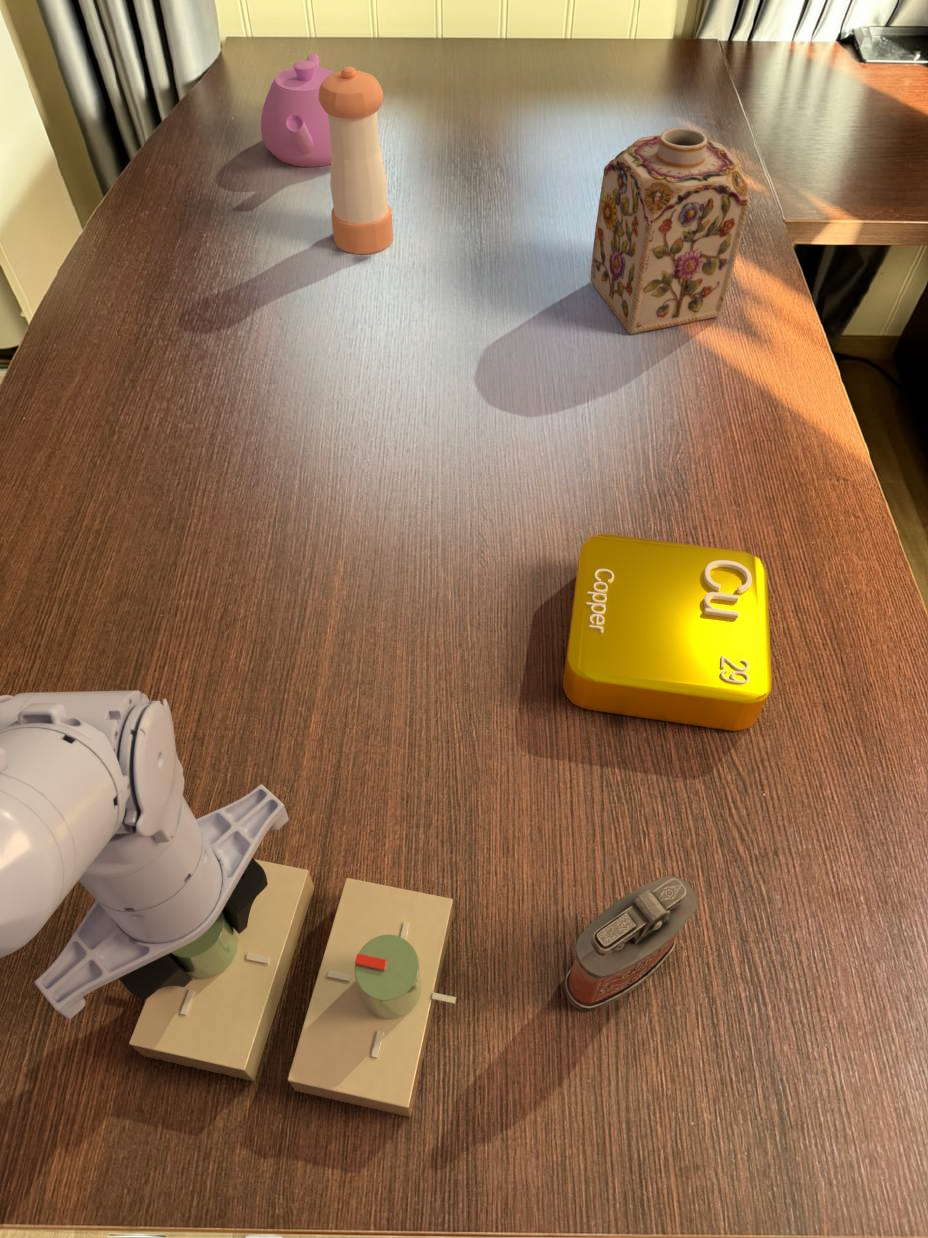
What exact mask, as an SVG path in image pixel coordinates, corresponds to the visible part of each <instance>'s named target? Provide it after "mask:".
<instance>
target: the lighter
mask: <svg viewBox="0 0 928 1238" xmlns="http://www.w3.org/2000/svg"><path fill="white" fill-rule="evenodd" d="M697 908H698V899H697V895H696V893H695V891H694V889H693V888H692V886H691V884H689V883H688V882H686V880H684V879H682V878H680V877H678V876H674V875H667V876H663V877H660V878H658V879H656V880H654V881H651V882H649V883H647V884H644V885H641V886H639V887H638V888H636V889H635V890H633V891H631V892H629V893H627V894H626V895H624V896H622V897H621V898H619V899H618V900H616V901H615V902H614V903H613V904H611V905H610V906H609V907H607V909H605V910H604V911H603V912H602V913H600V914H599V915H598V916H597V917H596V918H595V919H594V920H593V921H592V922H591V923H590V924H589V925H588V926H587V927H586V929H584V930H583V932H581V934H580V935H579V937H578V939H577V940H576V943H575V948H574V955H575V957H574V962H573V964H572V967H571V968H570V969H569V971H568V972H567V974H566V976H565V979H564V984H563V988H564V993H565V995H566V998H567V999H568V1002H569V1003H570V1004H571V1005H572V1006H573V1007H574V1008H576V1009H577V1010H580V1011H582V1012H586V1013H589V1012H594V1011H596V1010H598V1009H601V1008H603V1007H605V1006H607V1005H609V1004H612V1003H613V1002H616V1001H618V1000H620V999H621V998H622V997H624V996H626V995H627V994H630V993H631V992H632V991H634V990H635V989H637V988H638V987H639V986H640V985H642V984H643V983H644V982H645V981H647V980H648V979H649V978H650V977H651V976H653V974H654V973H655V972H657V970H658V969H660V967H661V965H662V964H663V963H665V961H666V960H667V959H668V957H669V956H670V955H671V954H672V952H673V950H674V948H675V946H676V941H677V940H676V939H677V936H678V934H679V933H680V931H681V930H682V929H683V928H684V927H685V926H686V925H687V923H688V922H689V921H690V920H691V919H692V918H693V916H694V914H695V913H696V910H697Z"/></svg>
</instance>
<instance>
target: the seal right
mask: <svg viewBox="0 0 928 1238" xmlns="http://www.w3.org/2000/svg"><path fill="white" fill-rule="evenodd" d="M355 977H356V980H357V983H358V987H359V990H360V993H361V996H362V999H363V1002H364V1004H365V1006H366V1007H367V1008H368V1010H369V1011H370V1012H371V1013H373V1014H374V1015H376V1016H378V1017H380V1018H384V1019H396V1018H399V1017H402V1016H404V1015H406V1014H407V1013H409V1012H410V1011H411V1010H412V1009H413V1008H414V1006H415V1005H416V1004H417V1002H418V1000H419V998H420V994H421V987H422V985H421V975H420V967H419V960H418V956H417V953H416V951H415V949H414V948H413V946H412V945H411V944H410V943H409V942H408V941H407V940H405V939H404V938H402V937H399V936H396V935H381V936H378V937H375V938H373V939H371V940H370V941H368V942H367V943H366V944H365V945H364V946H363V947H362V949H361V950H360V952H359V954H357V957H356V960H355Z"/></svg>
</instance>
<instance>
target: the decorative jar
mask: <svg viewBox="0 0 928 1238" xmlns="http://www.w3.org/2000/svg"><path fill="white" fill-rule="evenodd" d="M741 163H742V162H741V161H740V160H739V159H738V158H737V157H736V156H735V155H734V154H733V153H732V152H731V151H730V150H729V149H728V148H727V147H725V146H724V145H723V144H721V143H720V142H717V141H714V140H709V139H708V137H707V136H706V135H705V134H704V133H703V132H701V131H699V130H696V129H693V128H687V127H672V128H668V129H665V130H663V131H662V132H661V133H660V135H659V134H658V135H651V136H643V137H640V138H639V139H636V140H635V141H634V142H633V143H631V145H629V146H627V148H626V149H624V150H622V151H620V152H619V153H618V154H617V155H616V156H615V157H614V159H612V160H610V161H608V163H607V164H606V165H605V166H604V168H603V175H602V180H601V187H600V194H599V201H598V202H599V203H598V208H597V215H596V222H595V228H594V229H595V230H594V237H593V247H592V257H591V265H590V277H589V278H590V282H591V284H592V285H593V287H595V289H596V290H597V292H598V293H599V294H600V296H601V297H602V299H603V300H604V301H605V303H606V304H607V305H608V307H609V308H610V310H611V311H612V312H613V314H614V315H615V316H616V317H617V319H618V320H619V321H620V323H621V325H622V326H623V327H624V328H625V330H626V331H627V332H628V334H630V335H634V334H640V333H643V332H650V331H655V330H660V329H666V328H671V327H677V326H680V325H686V324H689V323H694V322H699V321H704V320H709V319H715V318H718V317H719V316H720V315H721V314H722V311H723V309H724V305H725V302H726V298H727V296H728V292H729V288H730V285H731V281H732V278H733V272H734V269H735V264H736V260H737V256H738V253H739V250H740V249H739V248H740V246H741V241H742V237H743V233H744V229H745V226H746V221H747V217H748V212H749V208H750V203H751V196H750V194H749V189H748V184H747V181H746V179H745V175H744V172H743V167H742V164H741Z"/></svg>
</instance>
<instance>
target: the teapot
mask: <svg viewBox="0 0 928 1238" xmlns="http://www.w3.org/2000/svg"><path fill="white" fill-rule="evenodd" d="M334 73H335V72H334V71H332V70H331V69H328V68H327V67H322V66H321V61H320V57H319V56H318V55H317V54H315V53H313V54H312V53H311V54H309V55H308V56H307V57H306V59H305V60H303V59H302V60H299V61H296V62H294V63H293V64H292V67H289V68H286V69H284V70H281V72H279V73H278V74H277V75H276V76H275V77H274V79H273V81H272V83H271V85H270V87H269V90H268V92H267V95H266V97H265V100H264V103H263V107H262V111H261V117H260V132H261V133H260V134H261V140H262V142H263V144H264V146H265V147H266V149H267V150H268V151H269V152H270V153H271V154H272V155H274V156H275V158H277V159H278V160H279V161H280V162H283V163H285V164H287V165H291V166H294V167H295V166H296V167H303V168H318V167H325V166H331V155H332V150H331V140H330V131H329V121H328V113H326V112H325V111H324V109H323V108H322V106H321V104H320V102H319V99H318V98H319V89H320V86H321V84H322V82H323V80H324V79H325V78H326V77H328V76H330V75H332V74H334Z"/></svg>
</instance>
